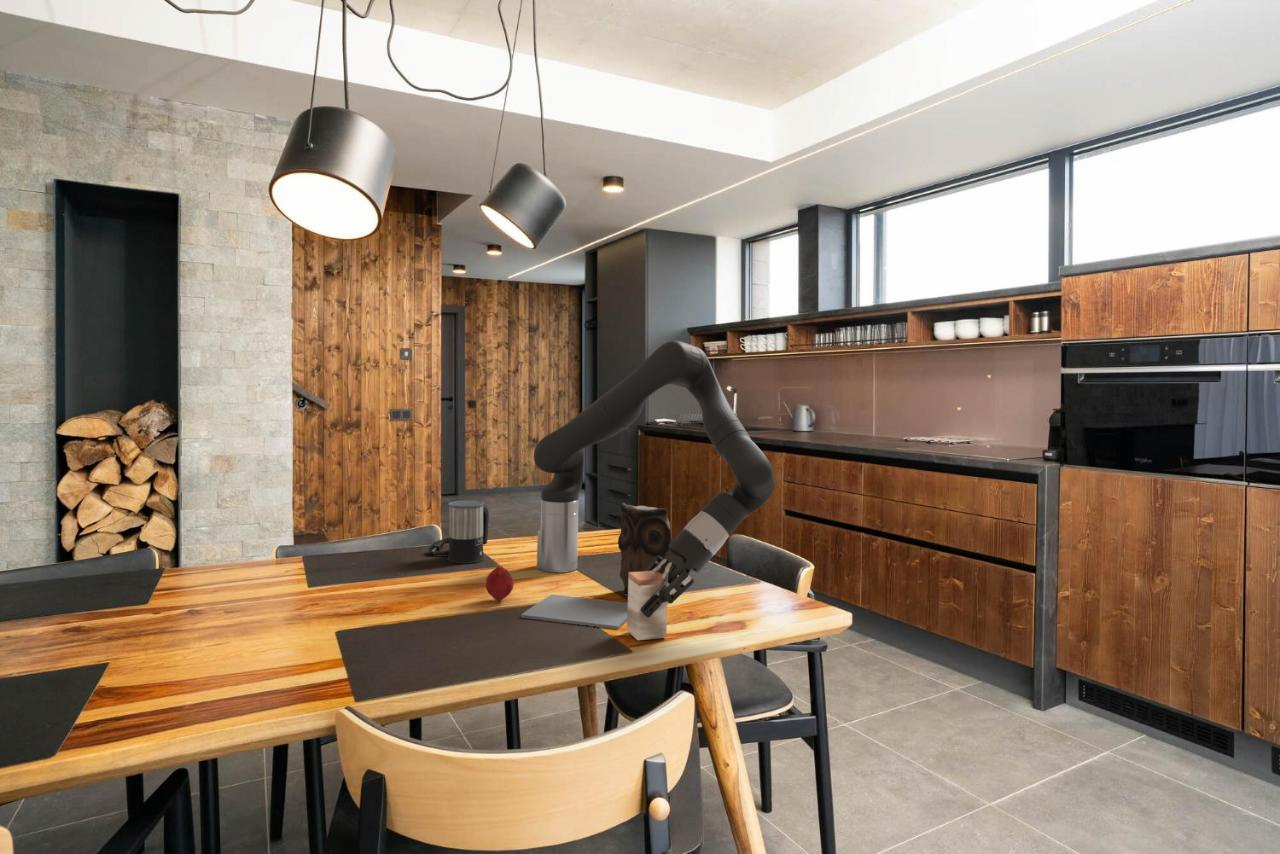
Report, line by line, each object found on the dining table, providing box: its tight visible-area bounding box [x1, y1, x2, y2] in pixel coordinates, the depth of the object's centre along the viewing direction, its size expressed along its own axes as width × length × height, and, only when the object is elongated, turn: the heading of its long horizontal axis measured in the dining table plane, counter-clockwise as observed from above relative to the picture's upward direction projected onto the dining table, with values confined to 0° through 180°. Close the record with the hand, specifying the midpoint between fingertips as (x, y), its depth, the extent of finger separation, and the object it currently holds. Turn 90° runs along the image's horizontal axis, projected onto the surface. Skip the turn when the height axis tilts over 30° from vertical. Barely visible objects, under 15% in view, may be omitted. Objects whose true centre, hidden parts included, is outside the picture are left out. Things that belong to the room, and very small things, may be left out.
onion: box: [484, 562, 515, 602], centre depth 156 cm, size 6×6×8 cm
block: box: [626, 571, 668, 641], centre depth 137 cm, size 6×6×11 cm
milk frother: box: [428, 499, 490, 564], centre depth 194 cm, size 14×16×15 cm
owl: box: [617, 502, 674, 597], centre depth 163 cm, size 13×13×20 cm
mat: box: [520, 594, 628, 630], centre depth 150 cm, size 20×15×1 cm
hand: (638, 608), depth 136 cm, fingers closed on block, 5 cm apart
